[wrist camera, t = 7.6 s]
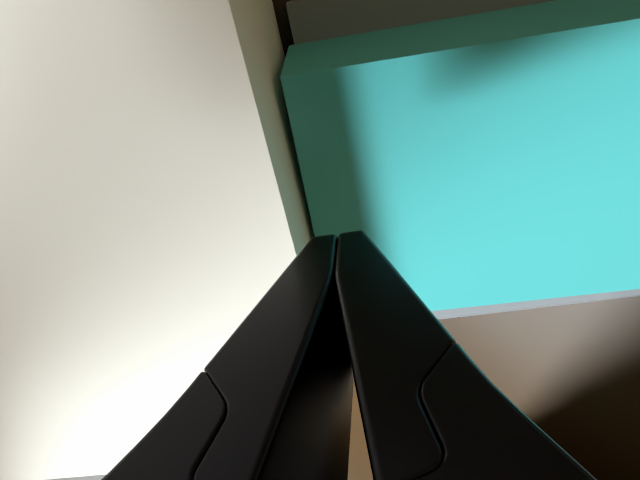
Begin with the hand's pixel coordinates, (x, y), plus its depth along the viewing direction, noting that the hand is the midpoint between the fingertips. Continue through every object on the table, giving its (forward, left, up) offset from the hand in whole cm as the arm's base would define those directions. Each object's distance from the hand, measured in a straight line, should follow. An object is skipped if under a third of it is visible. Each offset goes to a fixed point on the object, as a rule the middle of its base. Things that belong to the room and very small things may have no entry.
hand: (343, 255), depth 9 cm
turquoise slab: (+3, -1, -5) cm, 6 cm away
